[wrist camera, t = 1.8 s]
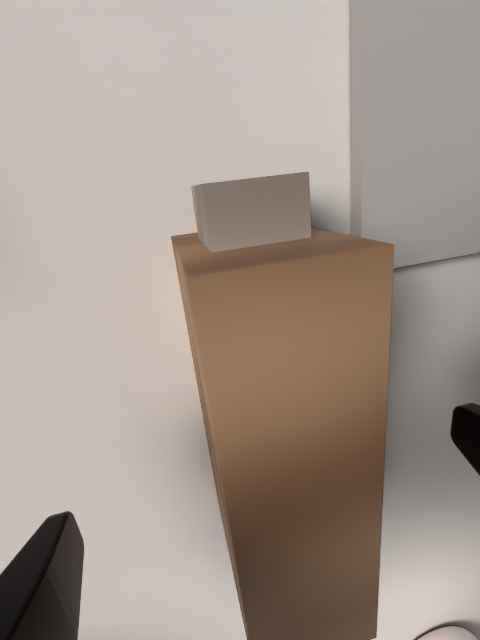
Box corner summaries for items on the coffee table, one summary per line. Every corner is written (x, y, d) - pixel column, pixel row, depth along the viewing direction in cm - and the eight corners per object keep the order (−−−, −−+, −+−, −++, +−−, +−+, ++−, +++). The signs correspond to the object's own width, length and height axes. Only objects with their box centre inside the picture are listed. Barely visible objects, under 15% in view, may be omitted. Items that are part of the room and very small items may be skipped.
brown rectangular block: (296, 478, 14) (376, 637, 9) (217, 499, 13) (256, 682, 8) (275, 177, 10) (398, 159, 5) (162, 190, 9) (171, 185, 4)
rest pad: (506, 242, 12) (523, 244, 12) (351, 270, 11) (361, 274, 11) (585, -282, 8) (617, -316, 8) (347, -311, 7) (364, -354, 7)
